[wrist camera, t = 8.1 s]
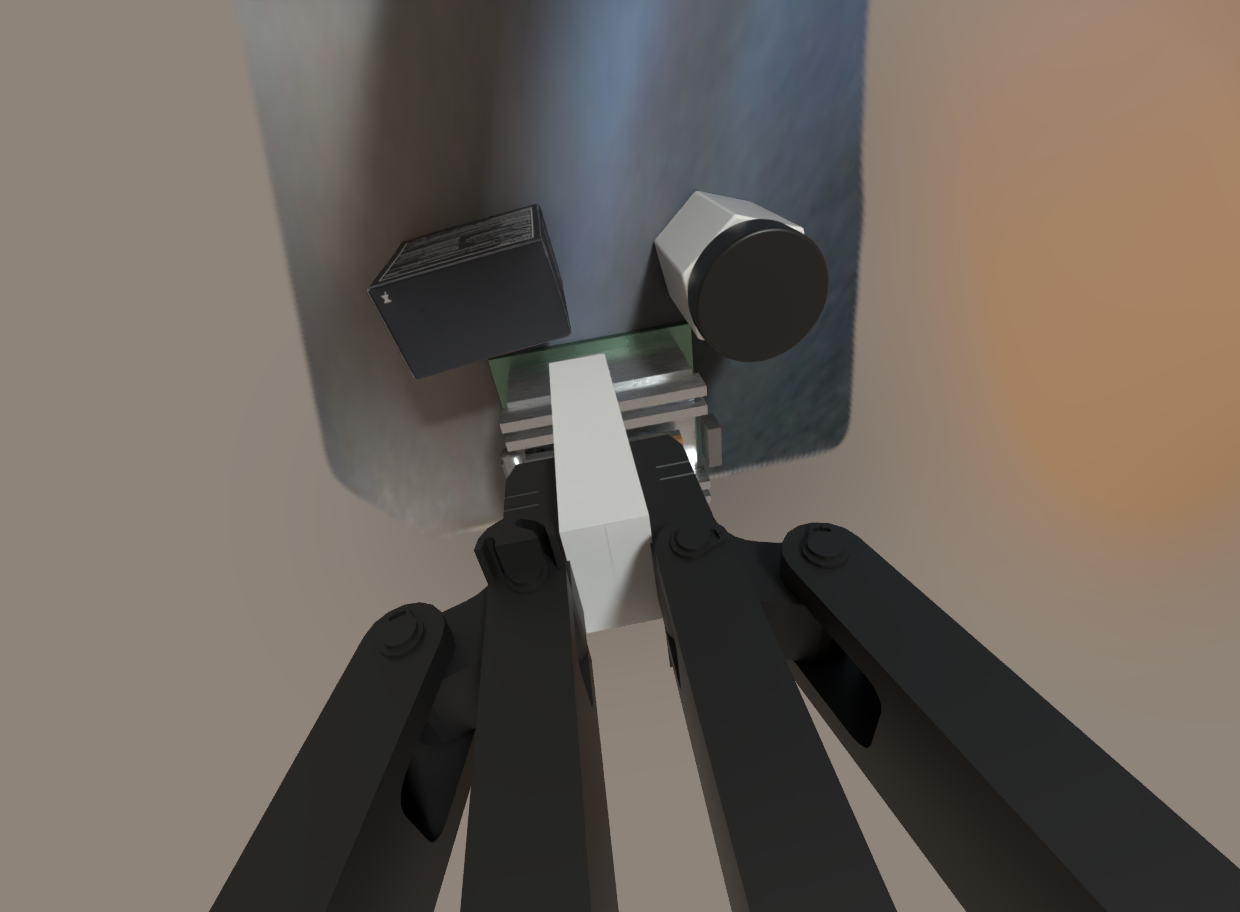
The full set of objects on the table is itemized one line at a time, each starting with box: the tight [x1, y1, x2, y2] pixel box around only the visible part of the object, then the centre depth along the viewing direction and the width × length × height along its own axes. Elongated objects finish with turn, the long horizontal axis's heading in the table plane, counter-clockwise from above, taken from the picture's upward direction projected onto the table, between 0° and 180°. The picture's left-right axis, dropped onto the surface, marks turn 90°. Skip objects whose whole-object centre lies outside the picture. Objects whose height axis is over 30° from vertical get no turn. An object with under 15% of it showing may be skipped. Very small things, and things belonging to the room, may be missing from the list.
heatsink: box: [488, 322, 722, 504], centre depth 44 cm, size 14×17×9 cm
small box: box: [367, 204, 571, 379], centre depth 35 cm, size 11×6×10 cm, turn 104°
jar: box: [654, 191, 829, 362], centre depth 36 cm, size 9×8×12 cm
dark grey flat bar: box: [501, 430, 683, 479], centre depth 41 cm, size 14×4×2 cm, turn 98°
